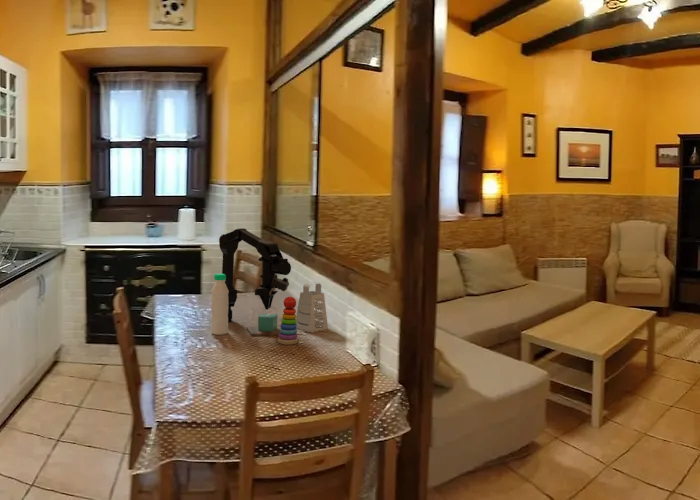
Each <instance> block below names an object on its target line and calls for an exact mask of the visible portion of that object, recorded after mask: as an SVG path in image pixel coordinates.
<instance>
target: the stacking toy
mask: <svg viewBox="0 0 700 500" xmlns="http://www.w3.org/2000/svg"><path fill="white" fill-rule="evenodd" d="M283 306H284V308H283V310H282V312H283V314H281V317H282V319H281V323H280V326H281V328H280V333H279V335H278V338H277V342H278V343H279V344H281V345H286V346H289V345H290V346H291V345H292V346H293V345H295V344H297V343H298V342H299V340H298V339H299V338H298V329H297V328H296V327H297V325H296V322H297V320H296V315H297V310H296V306H297V300H296V298H295V297H293V296H286V297H285V298H284V300H283Z"/></svg>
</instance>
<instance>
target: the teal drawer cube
mask: <svg viewBox="0 0 700 500" xmlns="http://www.w3.org/2000/svg"><path fill="white" fill-rule="evenodd" d="M257 319H258V321H257V326H258V331H270V332H273V331H274V330H275V329H277V325H278V314H275V313H274V314H273V313H261V314H260V315H258V317H257Z"/></svg>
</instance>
